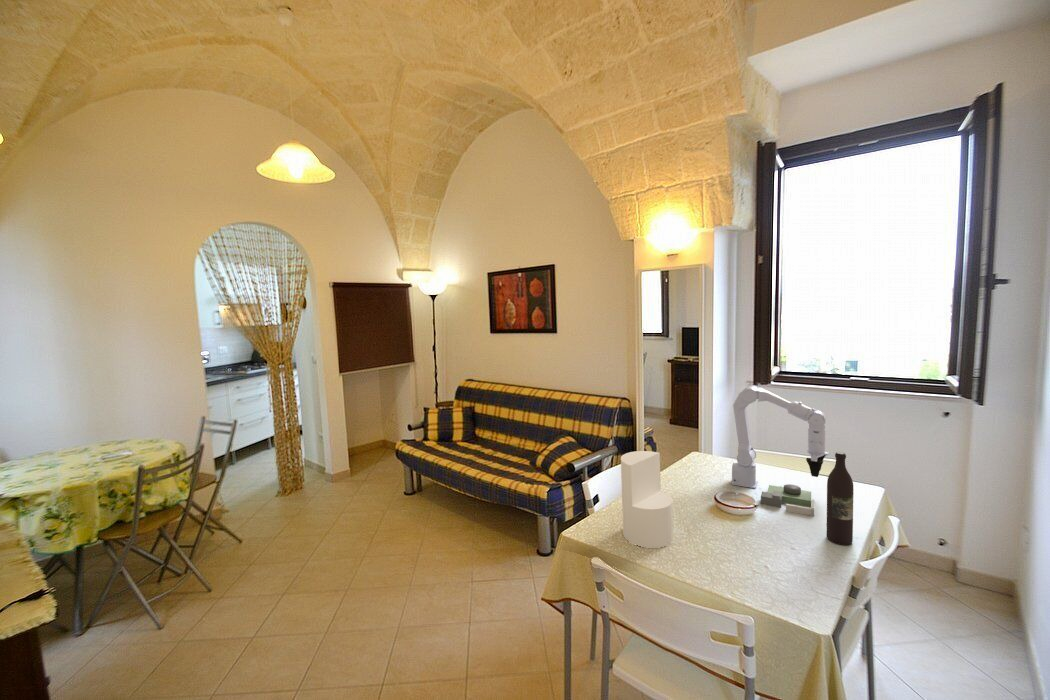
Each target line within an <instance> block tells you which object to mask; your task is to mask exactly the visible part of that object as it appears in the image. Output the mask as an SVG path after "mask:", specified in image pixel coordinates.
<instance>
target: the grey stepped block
mask: <svg viewBox="0 0 1050 700" xmlns="http://www.w3.org/2000/svg"><path fill="white" fill-rule="evenodd" d="M760 505H764V506H769V507H774V508H780V509H781V508H782V505H783V502H782V495H781V492H780V491H774V490H773V493H768V491H761V494H760Z"/></svg>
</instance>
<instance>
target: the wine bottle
mask: <svg viewBox="0 0 1050 700" xmlns="http://www.w3.org/2000/svg"><path fill="white" fill-rule="evenodd" d="M834 457H835V465H834V467H833V469H831V471H830V473H829V474H828V477H827V484H826V538H827V540H828V541H830V542H831V543H833V544H837V545H839V546H849V545H852V544H853V540H854V536H853V535H854V483H853V478H852V477H851V475H850V473H849V471H848V470H847V466H846V459H847V455H846V453H845V452H842V451H836V452H835V454H834Z"/></svg>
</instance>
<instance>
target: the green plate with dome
mask: <svg viewBox="0 0 1050 700" xmlns="http://www.w3.org/2000/svg"><path fill="white" fill-rule="evenodd" d="M773 490H774V491H780V492H781V495H782V503H785V511H786V512H790V513H794V514H795V513H796V514H800V515H807V516H811V517H815V499H812V491H809V490H802V489H801V487H800V486H799V485H796V484H791V483H790V484H788V483H787V484H784V485H783V486H779V485H773V484H771V485H770V484H769V485H768V487H767V492H768V493H773Z"/></svg>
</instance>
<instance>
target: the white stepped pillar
mask: <svg viewBox="0 0 1050 700" xmlns="http://www.w3.org/2000/svg"><path fill="white" fill-rule="evenodd" d="M660 454H661V453H660V452H656V451H649V450H637V451H630V452H627V453H624V454H622V455H621V457H620V473H621V502H622V503H621V504H622V505H621V506H622V529H623V531H622V536H623V535H624V536H623V538H624V537H625V538H626V539H627V540H628V541H629V542H631V543H633V544H636V545H638V546H642V547H647V548H646V549H648V548H658V549H660V548H659V547H663V548H665V547H664V546H666V547H668V546H670V545H671V544H672V543H673V542H674V539H673V538H674V536H675V535H674V500H673V496H671V495H670V493H667V492H666V491H663V490H661V489H662V488H661V455H660ZM625 538H624V539H625ZM626 539H625V540H626ZM627 540H626V541H627ZM628 541H627V542H628ZM672 541H673V542H672ZM629 542H628V543H629ZM671 542H672V543H671ZM631 543H630V544H631ZM670 543H671V544H670ZM633 544H632V545H633ZM669 544H670V545H669ZM667 545H668V546H667ZM638 546H637V547H638ZM642 547H641V548H642Z"/></svg>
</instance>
